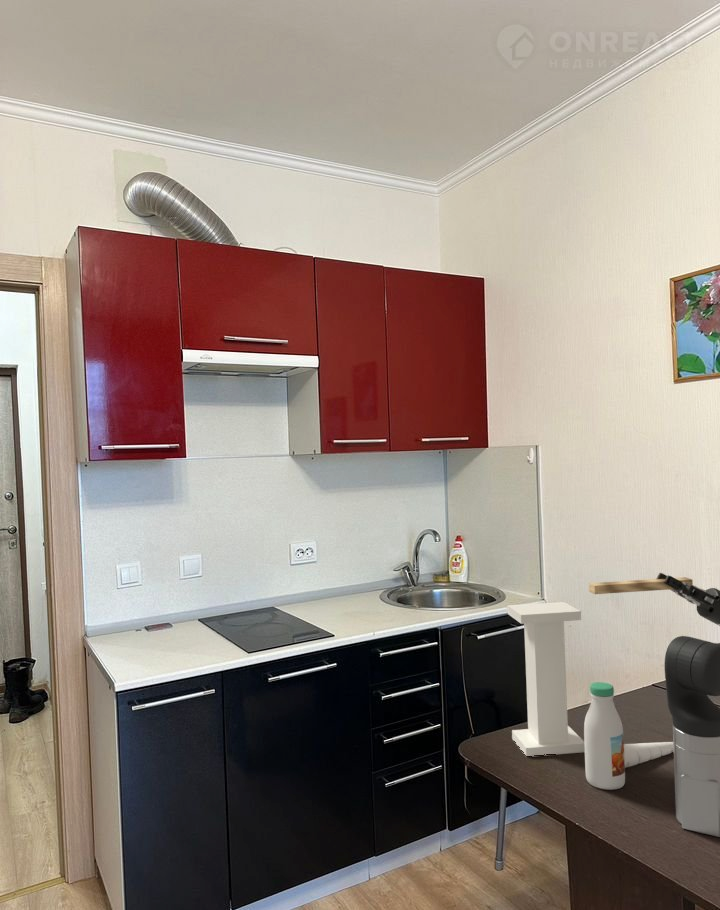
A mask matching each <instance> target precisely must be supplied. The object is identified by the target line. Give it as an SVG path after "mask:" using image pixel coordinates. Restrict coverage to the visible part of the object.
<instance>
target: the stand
mask: <svg viewBox="0 0 720 910" xmlns="http://www.w3.org/2000/svg"><path fill="white" fill-rule="evenodd" d="M506 608H507V615H508V616H510V617H511V618H512V619H514V620H516V621H517V622H518V623H520V624H521V625H524V627H523V628H524V629H523V631H524V632H523V633H524V653H525V678H526V680H525V681H526V683H525V684H526V704H527V705H526V706H527V707H526V709H527V728H525V729H524V728H523V729H512V730H511V739H512V741H513V742H514V741H515V742H516V743H515V742H514V743H515V744H516V746H517V747H518V746H519V747H520V748H519V747H518V748H519V749H520V751H521V750H522V751H523V752H524V753H523V752H522V751H521V752H522V753H523V754H525V755H526V756H532V757H535V756H534V755H544V754H545V755H544V756H547V755H546V754H556V755H564V754H565V755H567V754H576V753H578V754H579V753H585V745H584V739H583V738H582V737H580V736H579V735H578V733H576V732H575V731H574V730H573V728H571V726H569V725H568V723H569V722H568V720H569V719H568V703H567V702H568V700H567V699H568V697H567V674H566V673H567V672H566V671H567V670H566V667H567V665H566V650H565V649H566V645H565V642H566V641H565V640H566V639H565V622H571V621H582V611H581V610H580V609H578V608H576V607H574V606H572V605H570V604H569V603H567V602H565V601H558V602H557V601H556V602H555V601H554V602H540V603H539V602H538V603H522V604H509V605H506ZM525 755H524V756H525ZM526 756H525V757H526Z"/></svg>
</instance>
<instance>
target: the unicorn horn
mask: <svg viewBox="0 0 720 910" xmlns="http://www.w3.org/2000/svg"><path fill="white" fill-rule="evenodd" d="M672 752H673V753H674V747H673V741H663V742H641V743H624V760H625V769H626V768H630V767H634V766H637V765H639V764H643V763H646V762H649V761H651V760H655V759H659V758H661V757H664V756H667V755H670V754H671V753H672Z"/></svg>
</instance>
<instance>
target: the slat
mask: <svg viewBox="0 0 720 910" xmlns="http://www.w3.org/2000/svg"><path fill="white" fill-rule="evenodd" d="M674 578H675V579H677V580H679V581H681V582H682V583H683V582H684V583H687V584H688V585H694V584H693V579H692V578H690V577H689V578H688V577H684V576H683V577H674ZM664 581H665V579H657V578H654V579H653V578H651V579H637V580H620V581H606V582H605V581H603V582H590V583H588V589H589V593H591V594H593V595H605V594H607V595H608V594H621V593H637V592H652V591H666V590H667V591H668V590H669V589H674V588H672V587H670V586H668V585H666V584H665V583H664Z"/></svg>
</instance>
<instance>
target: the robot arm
mask: <svg viewBox="0 0 720 910" xmlns="http://www.w3.org/2000/svg"><path fill="white" fill-rule="evenodd" d="M675 578H676V577H673V576H671V575H669V574H668V575H666V574H665V573H662V572H659V573H658V575H657V576H656V579H665V581H664V583H665V584H666V585H668V586H670V587H672V588H674V589H669V590H670V591H672V592H673V593H675V595H677V596H679V597H681V598H682V599H685V600H686V602H688V603H690V604H692V605H696V611H697V614H698V615H699V616H700V617H702V618H704V619H706V620H707V621H710V622H711V623H714V625H717V626H719V627H720V589H719V588H718V589H717V588H716V587H710V588H708V589H706V590H705V589H703V588H699V587H698V586H696V585H694V584H693V585H688V584H687V583H684V582H683V583H682V582H681V581H679V580H677V579H675ZM664 676H665V680H664V681H665V689H666V699H667V700H666V701H667V707H668V711H669V713H670V716H671V718H672V739H673V740H672V742H673V747H674V752H673V769H674V793H675V794H674V795H675V798H674V799H675V817H676V820H677V821H678V823H680V824H681V828H682V829H685V830H688V831H692V832H696V833H700V834H704V835H705V834H706V835H710V836H714V837H717V838H718V837H719V838H720V707H719V706H718V705H716V704H715V703H714V702H713V700H711V698H709V696H711V697H720V642H712V641H708V640H703V639H701V638H696V637H692V636H688V635H681V636H677V637H675V638H673V639H672V640H670V643H669V644H668V646H667V648H666V652H665V656H664Z"/></svg>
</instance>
